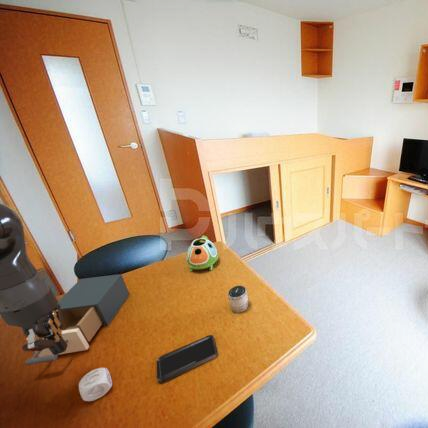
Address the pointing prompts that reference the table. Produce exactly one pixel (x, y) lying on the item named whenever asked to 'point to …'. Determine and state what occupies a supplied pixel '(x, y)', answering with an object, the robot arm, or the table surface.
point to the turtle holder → (201, 254)
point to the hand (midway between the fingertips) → (61, 350)
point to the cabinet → (97, 296)
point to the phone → (185, 358)
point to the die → (95, 384)
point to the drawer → (73, 333)
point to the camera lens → (238, 299)
